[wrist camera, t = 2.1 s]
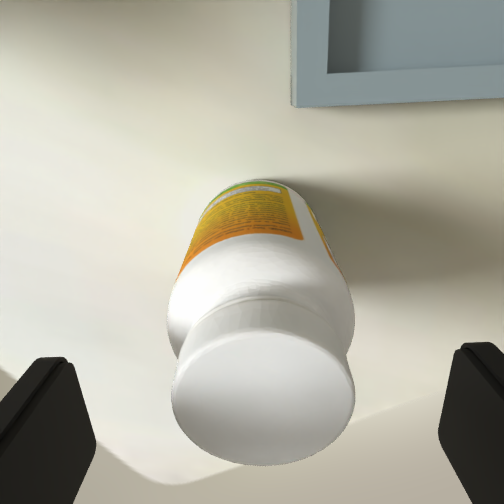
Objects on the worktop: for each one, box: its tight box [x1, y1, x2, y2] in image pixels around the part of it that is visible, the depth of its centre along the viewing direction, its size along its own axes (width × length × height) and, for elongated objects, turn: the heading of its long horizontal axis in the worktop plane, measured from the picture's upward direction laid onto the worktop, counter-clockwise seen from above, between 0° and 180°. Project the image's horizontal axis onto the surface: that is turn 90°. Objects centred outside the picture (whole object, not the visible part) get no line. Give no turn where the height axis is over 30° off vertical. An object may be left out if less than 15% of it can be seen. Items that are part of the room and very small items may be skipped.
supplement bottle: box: [167, 180, 355, 466], centre depth 12 cm, size 5×5×10 cm
